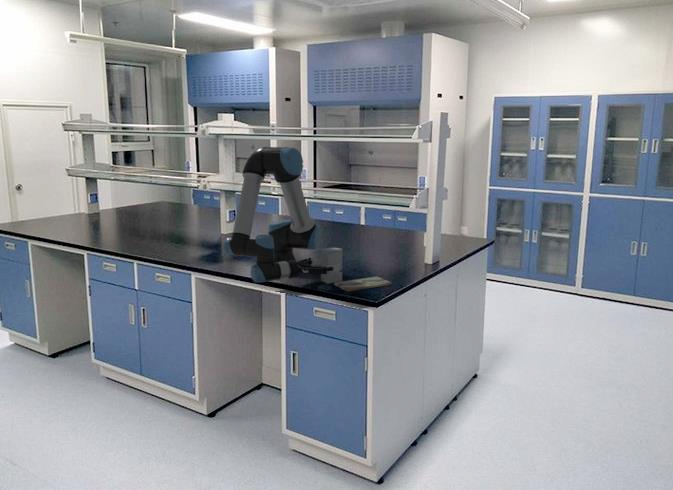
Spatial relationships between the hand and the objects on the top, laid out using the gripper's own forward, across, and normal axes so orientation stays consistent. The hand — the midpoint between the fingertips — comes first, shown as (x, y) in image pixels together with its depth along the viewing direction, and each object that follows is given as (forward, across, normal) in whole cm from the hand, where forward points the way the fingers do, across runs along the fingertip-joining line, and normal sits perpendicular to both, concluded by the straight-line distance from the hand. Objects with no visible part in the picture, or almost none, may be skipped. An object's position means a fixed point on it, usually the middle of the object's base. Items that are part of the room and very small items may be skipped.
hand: (331, 264), depth 243 cm
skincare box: (0, 0, -8) cm, 8 cm away
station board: (+9, +11, -8) cm, 17 cm away
